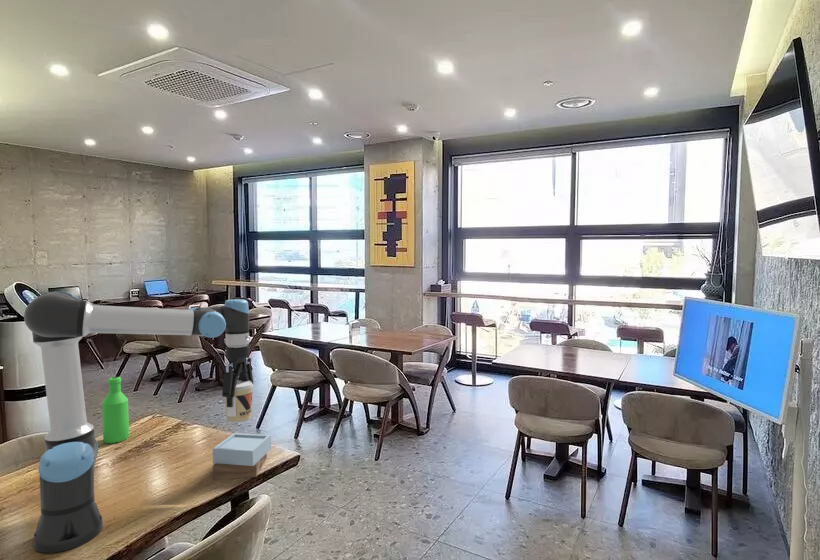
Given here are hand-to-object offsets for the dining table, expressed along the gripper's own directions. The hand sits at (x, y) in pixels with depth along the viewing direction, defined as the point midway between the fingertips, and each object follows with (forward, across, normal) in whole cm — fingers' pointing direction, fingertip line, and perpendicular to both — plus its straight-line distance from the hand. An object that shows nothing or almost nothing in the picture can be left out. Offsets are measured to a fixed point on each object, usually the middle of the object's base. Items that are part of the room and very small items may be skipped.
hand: (238, 411), depth 161 cm
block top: (+16, +2, 0) cm, 16 cm away
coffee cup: (+3, 0, 0) cm, 3 cm away
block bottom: (+21, +1, 0) cm, 21 cm away
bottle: (+21, +17, +62) cm, 68 cm away
